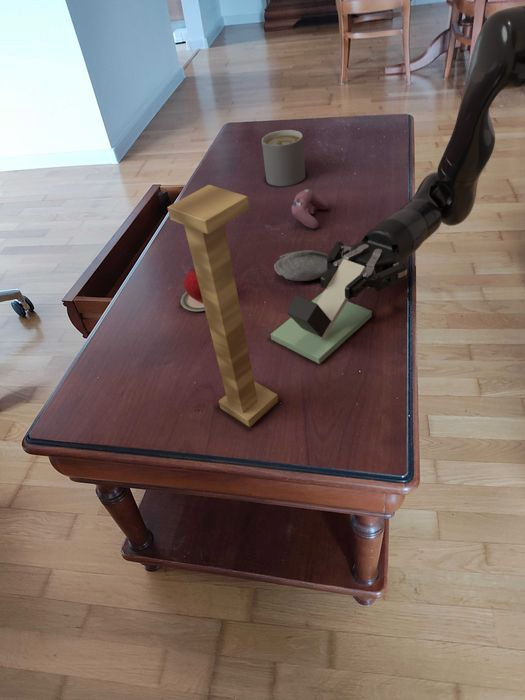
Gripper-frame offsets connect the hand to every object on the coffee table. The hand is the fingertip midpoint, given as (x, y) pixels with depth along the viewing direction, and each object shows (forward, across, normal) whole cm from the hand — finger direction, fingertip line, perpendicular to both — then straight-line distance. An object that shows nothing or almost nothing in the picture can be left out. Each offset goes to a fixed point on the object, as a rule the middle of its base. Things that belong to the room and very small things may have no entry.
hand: (334, 288), depth 79 cm
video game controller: (-27, -27, +8) cm, 39 cm away
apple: (+7, -25, +8) cm, 27 cm away
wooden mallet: (0, 0, +2) cm, 2 cm away
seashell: (-10, -14, +8) cm, 19 cm away
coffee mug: (-42, -47, +8) cm, 63 cm away
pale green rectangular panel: (+1, -2, +8) cm, 8 cm away
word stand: (+21, 0, +8) cm, 22 cm away
